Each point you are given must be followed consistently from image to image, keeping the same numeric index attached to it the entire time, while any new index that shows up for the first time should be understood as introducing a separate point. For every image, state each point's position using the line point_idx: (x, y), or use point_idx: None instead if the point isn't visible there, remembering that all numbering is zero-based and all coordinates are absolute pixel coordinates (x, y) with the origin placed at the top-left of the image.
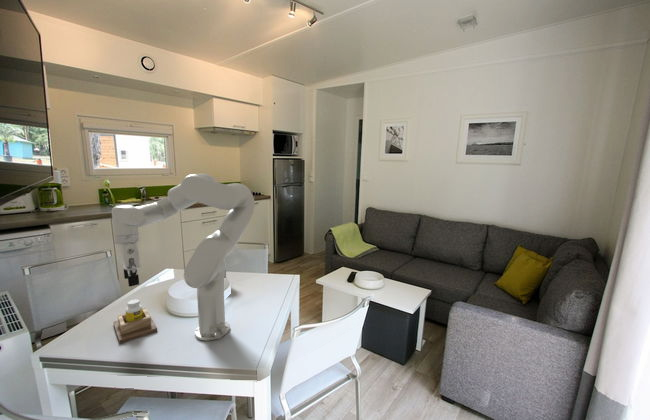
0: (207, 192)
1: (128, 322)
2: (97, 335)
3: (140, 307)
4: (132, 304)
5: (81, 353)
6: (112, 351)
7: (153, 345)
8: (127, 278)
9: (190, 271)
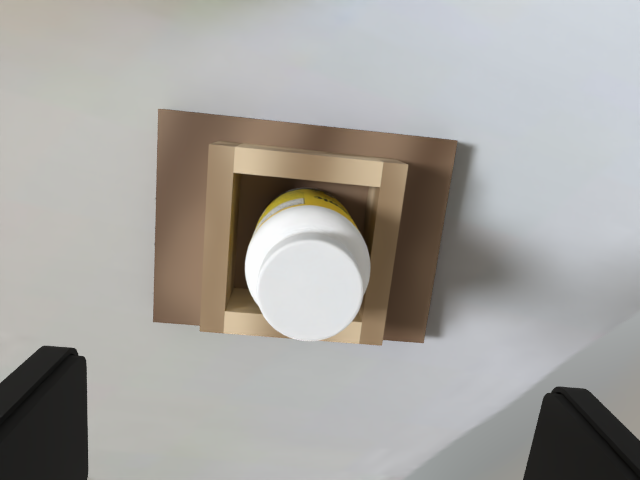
0: None
1: (368, 302)
2: (227, 395)
3: (349, 230)
4: (357, 309)
5: (363, 469)
6: (462, 370)
7: (583, 207)
8: (78, 444)
9: None
